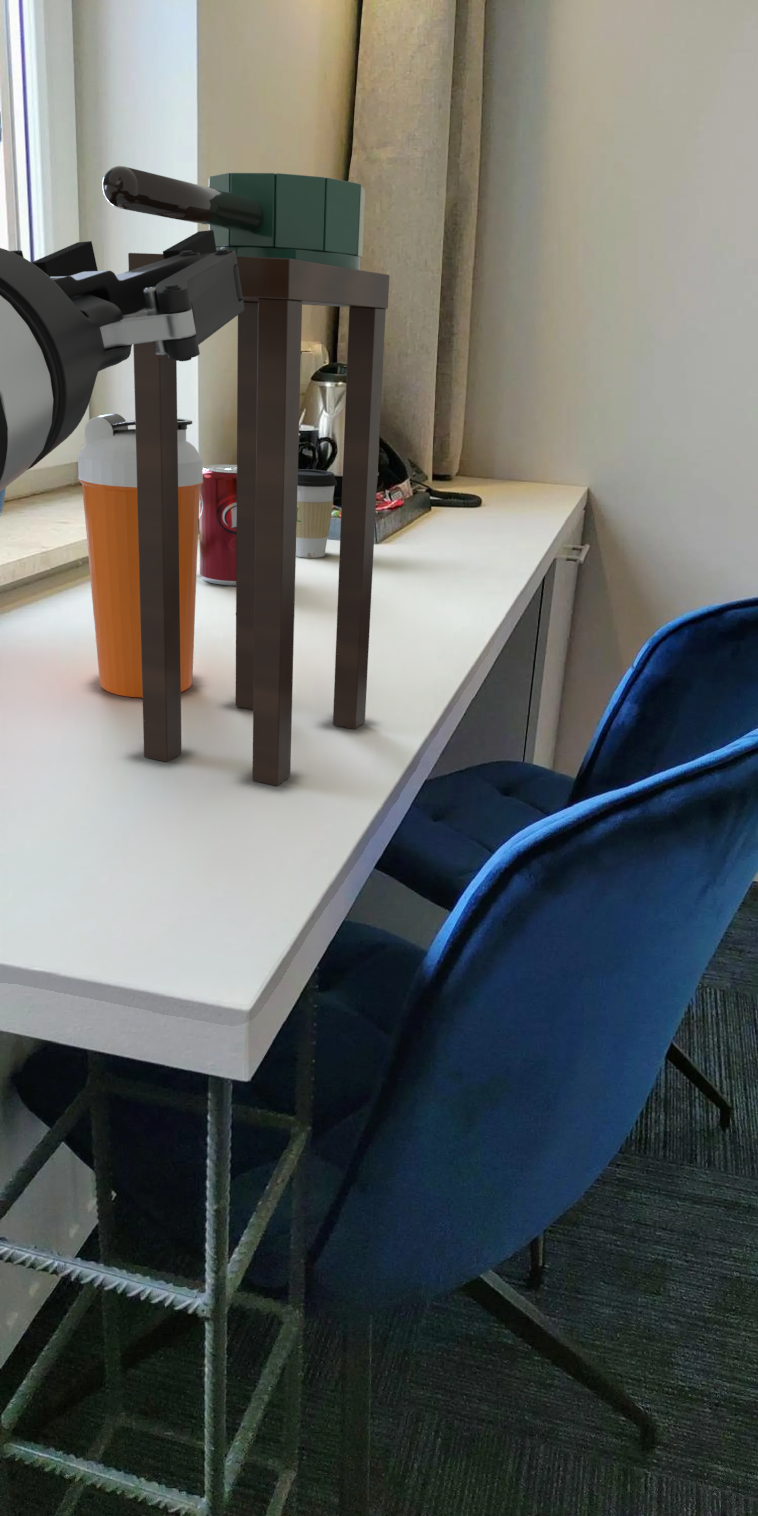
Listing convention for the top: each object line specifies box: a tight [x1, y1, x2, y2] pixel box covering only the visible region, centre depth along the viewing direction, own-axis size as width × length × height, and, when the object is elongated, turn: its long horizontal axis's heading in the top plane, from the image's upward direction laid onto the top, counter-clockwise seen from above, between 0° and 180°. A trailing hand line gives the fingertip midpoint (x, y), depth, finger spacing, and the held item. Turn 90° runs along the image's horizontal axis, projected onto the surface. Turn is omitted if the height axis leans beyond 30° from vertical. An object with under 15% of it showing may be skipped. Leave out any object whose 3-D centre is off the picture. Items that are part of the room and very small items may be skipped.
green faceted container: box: [102, 165, 366, 270], centre depth 61 cm, size 22×9×5 cm, turn 157°
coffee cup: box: [296, 468, 338, 559], centre depth 137 cm, size 7×7×10 cm
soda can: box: [198, 463, 237, 587], centre depth 121 cm, size 7×7×12 cm
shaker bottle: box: [77, 412, 204, 699], centre depth 83 cm, size 9×9×20 cm
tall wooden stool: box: [127, 252, 390, 787], centre depth 71 cm, size 14×10×30 cm
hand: (150, 265), depth 57 cm, fingers open, 6 cm apart
